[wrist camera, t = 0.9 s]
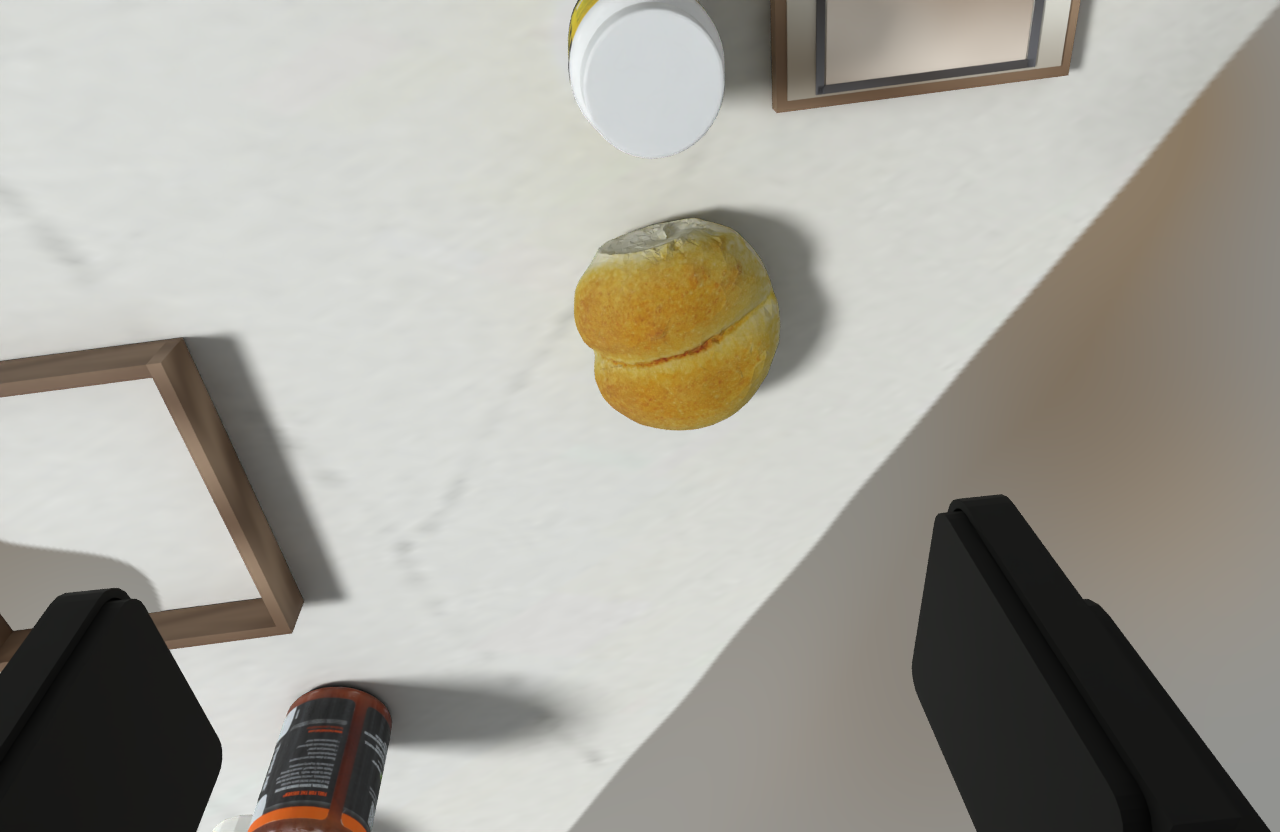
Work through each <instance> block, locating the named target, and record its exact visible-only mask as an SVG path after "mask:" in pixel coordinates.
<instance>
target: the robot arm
mask: <svg viewBox="0 0 1280 832" xmlns="http://www.w3.org/2000/svg"><path fill="white" fill-rule="evenodd" d="M912 675H913V682H914V686H915V690H916V692H917V695H918V698H919V700H920V702H921V705H922V707H923V709H924V712H925V714H926V716H927V718H928V721H929V723H930V725H931V728H932V730H933V732H934V734H935V737H936V739H937V741H938V744H939V746H940V748H941V750H942V753H943V755H944V757H945V760H946V762H947V764H948V767H949V769H950V771H951V774H952V776H953V778H954V780H955V783H956V785H957V787H958V790H959V792H960V794H961V796H962V799H963V801H964V803H965V806H966V808H967V810H968V813H969V815H970V817H971V819H972V822H973V824H974V826H975V829H976V831H977V832H1271V831H1270V830H1269V829H1268V827H1267V826H1266V824H1265V823H1264V822H1263V820H1262V819H1261V818H1260V817H1259V816H1258V814H1257V812H1256V811H1255V810H1254V809H1253V807H1252V806H1251V805H1250V803H1249V802H1248V800H1247V799H1246V798H1245V796H1244V795H1243V794H1242V792H1241V791H1240V790H1239V788H1238V787H1237V786H1236V784H1235V783H1234V782H1233V780H1232V779H1231V778H1230V776H1229V775H1228V774H1227V772H1226V771H1225V770H1224V768H1223V767H1222V766H1221V764H1220V763H1219V762H1218V760H1217V759H1216V758H1215V756H1214V755H1213V754H1212V752H1211V751H1210V750H1209V748H1208V747H1207V746H1206V745H1205V743H1204V742H1203V740H1202V739H1201V738H1200V736H1199V735H1198V734H1197V732H1196V731H1195V730H1194V728H1193V727H1192V726H1191V724H1190V723H1189V722H1188V720H1187V719H1186V717H1185V716H1184V715H1183V714H1182V712H1181V711H1180V710H1179V708H1178V707H1177V705H1176V704H1175V703H1174V701H1173V700H1172V699H1171V697H1170V696H1169V695H1168V693H1167V692H1166V691H1165V689H1164V688H1163V687H1162V685H1161V684H1160V683H1159V681H1158V680H1157V679H1156V677H1155V676H1154V675H1153V673H1152V672H1151V671H1150V669H1149V668H1148V667H1147V665H1146V664H1145V663H1144V661H1143V660H1142V659H1141V657H1140V656H1139V655H1138V653H1137V652H1136V651H1135V649H1134V648H1133V647H1132V645H1131V644H1130V643H1129V641H1128V640H1127V639H1126V637H1125V636H1124V635H1123V633H1122V632H1121V631H1120V629H1119V628H1118V627H1117V625H1116V624H1115V623H1114V621H1113V620H1112V619H1111V617H1110V616H1109V615H1108V614H1107V613H1106V612H1105V611H1104V610H1103V608H1102V607H1101V606H1100V605H1098V604H1097V603H1095V602H1093V601H1091V600H1089V599H1082V597H1081V596H1080V594H1079V593H1078V592H1077V590H1076V589H1075V588H1074V586H1073V585H1072V583H1071V582H1070V581H1069V579H1068V578H1067V577H1066V575H1065V574H1064V572H1063V571H1062V570H1061V568H1060V567H1059V566H1058V564H1057V563H1056V562H1055V560H1054V559H1053V558H1052V556H1051V555H1050V553H1049V552H1048V550H1047V549H1046V548H1045V546H1044V545H1043V544H1042V542H1041V541H1040V540H1039V538H1038V537H1037V535H1036V534H1035V533H1034V531H1033V530H1032V528H1031V527H1030V526H1029V525H1028V523H1027V522H1026V520H1025V519H1024V517H1023V516H1022V515H1021V513H1020V512H1019V511H1018V509H1017V508H1016V507H1015V505H1014V504H1013V503H1012V501H1011V500H1010V499H1009V498H1008V497H1007V496H1004V495H1002V494H1001V495H991V496H981V497H972V498H962V499H956V500H953V501H952V502H951V504H950V506H949V509H948V512H947V513H940V514H938V515H937V516H936V518H935V522H934V528H933V534H932V540H931V547H930V553H929V559H928V566H927V573H926V578H925V585H924V591H923V597H922V604H921V610H920V616H919V623H918V629H917V636H916V642H915V648H914V655H913V661H912ZM221 764H222V747H221V743H220V740H219V738H218V736H217V734H216V733H215V731H214V729H213V727H212V725H211V724H210V722H209V720H208V718H207V716H206V715H205V713H204V711H203V709H202V708H201V706H200V704H199V702H198V700H197V699H196V697H195V695H194V693H193V691H192V690H191V688H190V686H189V684H188V683H187V681H186V679H185V677H184V675H183V674H182V672H181V670H180V668H179V666H178V665H177V663H176V661H175V659H174V658H173V656H172V654H171V652H170V650H169V649H168V647H167V645H166V643H165V642H164V640H163V638H162V636H161V634H160V633H159V631H158V629H157V627H156V625H155V624H154V622H153V620H152V618H151V617H150V615H149V613H148V611H147V610H146V608H145V606H144V605H143V604H142V602H141V601H139V600H137V599H131V598H130V597H129V596H128V595H127V593H126V592H125V591H123V590H121V589H119V588H110V589H100V590H90V591H81V592H73V593H64V594H62V595H60V596H58V597H57V598H56V599H55V600H54V601H53V602H52V603H51V604H50V605H49V607H48V608H47V609H46V611H45V612H44V614H43V615H42V616H41V618H40V619H39V620H38V622H37V624H36V625H35V626H34V628H33V629H32V630H31V632H30V633H29V634H28V636H27V637H26V638H25V640H24V641H23V643H22V644H21V645H20V647H19V648H18V650H17V651H16V652H15V654H14V655H13V656H12V658H11V659H10V661H9V662H8V663H7V665H6V666H5V668H4V669H3V670H2V672H1V673H0V832H196V831H197V828H198V826H199V823H200V821H201V818H202V816H203V813H204V811H205V808H206V806H207V803H208V801H209V798H210V795H211V793H212V790H213V788H214V785H215V783H216V780H217V778H218V775H219V772H220V769H221Z"/></svg>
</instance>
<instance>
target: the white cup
mask: <svg viewBox="0 0 1280 832" xmlns="http://www.w3.org/2000/svg"><path fill="white" fill-rule="evenodd" d="M252 817H253V815H240V816H236V817H232V818H229V819H225V820H224V821H222V822H221V823H219V824H218V825H217V826H215V827H214V829H213V831H212V832H248V829H249V825H250V823H251V820H252Z"/></svg>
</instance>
